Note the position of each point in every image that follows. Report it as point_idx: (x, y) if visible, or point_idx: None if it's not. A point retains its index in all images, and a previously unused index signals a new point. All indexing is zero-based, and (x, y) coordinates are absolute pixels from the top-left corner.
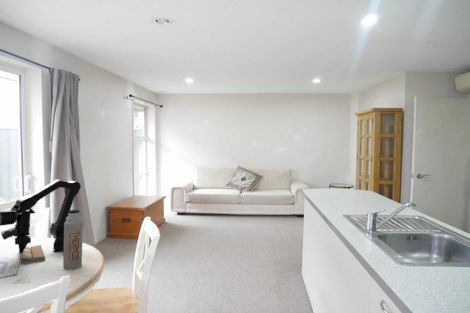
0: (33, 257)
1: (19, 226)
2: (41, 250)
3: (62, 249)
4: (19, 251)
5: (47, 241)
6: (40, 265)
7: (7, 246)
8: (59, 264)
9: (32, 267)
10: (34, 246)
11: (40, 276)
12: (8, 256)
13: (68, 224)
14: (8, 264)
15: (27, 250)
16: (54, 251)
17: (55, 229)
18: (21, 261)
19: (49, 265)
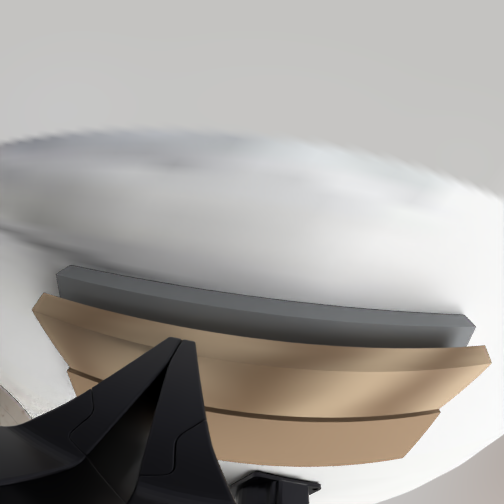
0: (79, 377)
1: None
2: (250, 460)
3: (235, 495)
4: (438, 328)
5: (475, 439)
6: (29, 350)
7: None
8: (32, 401)
9: (10, 309)
10: (413, 433)
11: None
12: (428, 212)
13: None
14: (125, 167)
15: (317, 406)
16: (251, 474)
17: None
18: (68, 284)
19: (25, 374)
